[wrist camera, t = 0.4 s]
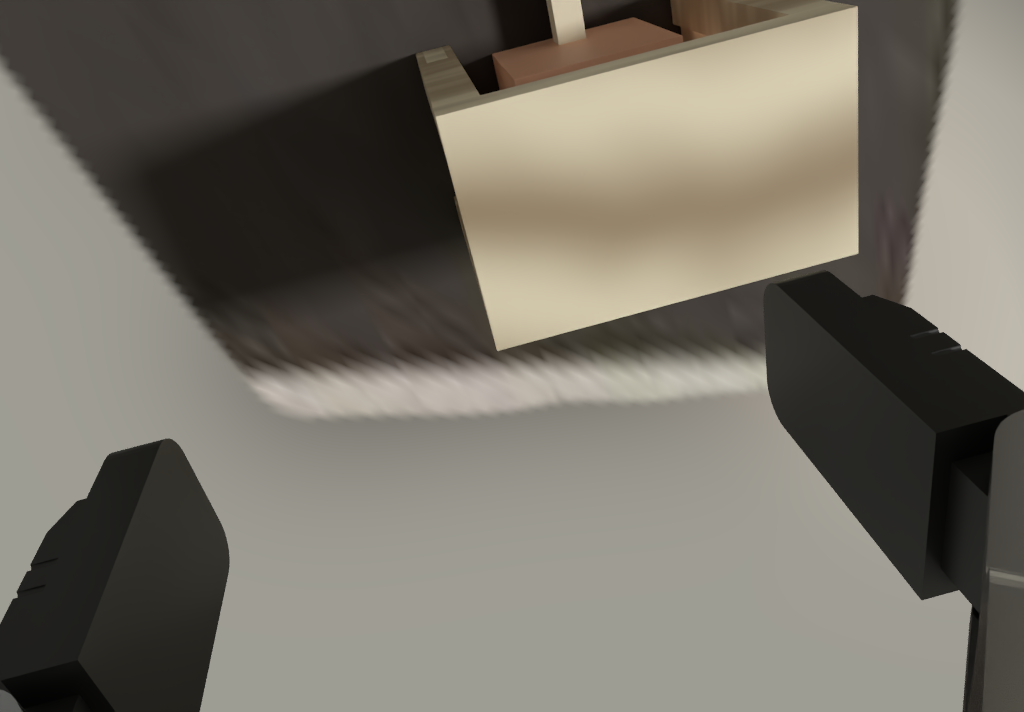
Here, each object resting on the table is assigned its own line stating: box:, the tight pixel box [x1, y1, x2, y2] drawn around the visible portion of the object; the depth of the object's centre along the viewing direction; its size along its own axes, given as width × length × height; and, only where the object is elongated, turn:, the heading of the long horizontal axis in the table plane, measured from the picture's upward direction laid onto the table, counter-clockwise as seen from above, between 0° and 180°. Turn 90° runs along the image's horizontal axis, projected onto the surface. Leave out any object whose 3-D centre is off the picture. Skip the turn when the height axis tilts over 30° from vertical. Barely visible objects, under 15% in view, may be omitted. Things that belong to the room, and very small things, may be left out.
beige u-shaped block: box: [416, 0, 858, 351], centre depth 29 cm, size 8×12×12 cm, turn 103°
